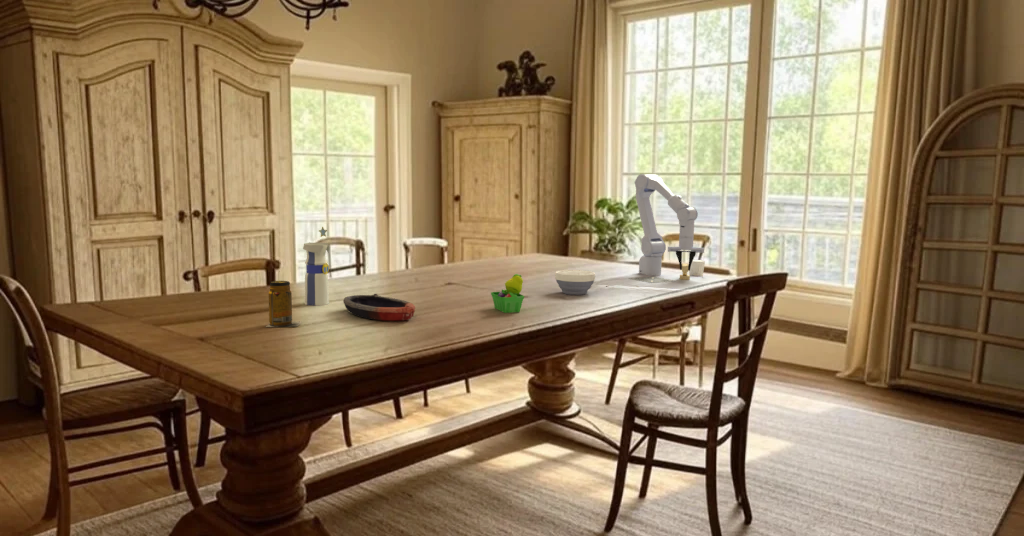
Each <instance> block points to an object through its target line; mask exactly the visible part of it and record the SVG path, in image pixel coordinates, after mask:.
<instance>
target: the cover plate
mask: <svg viewBox="0 0 1024 536" xmlns="http://www.w3.org/2000/svg"><path fill="white" fill-rule="evenodd" d="M628 280H633V281H638V282H644V283H649V284H657V283H670V282H677V280H676V279H675V280H674V279H669V278H665V277H658V276H643V277H632V278H628Z"/></svg>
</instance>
